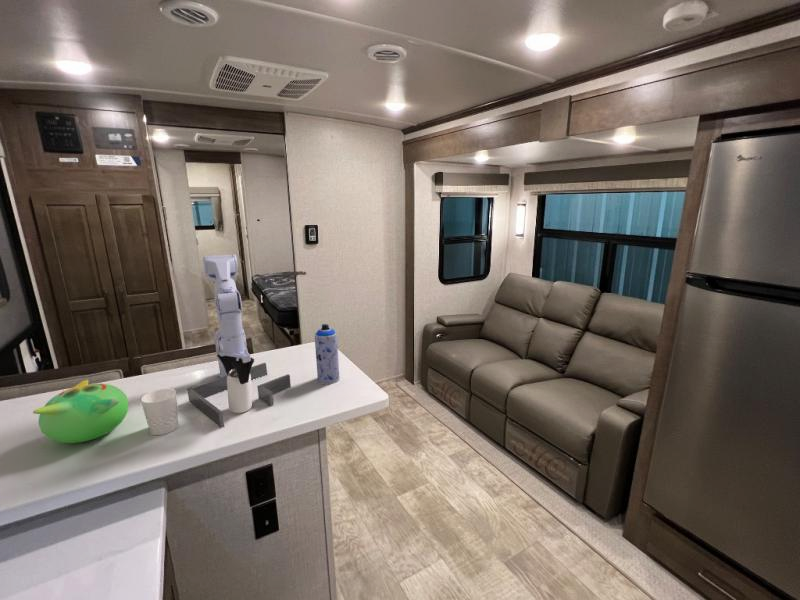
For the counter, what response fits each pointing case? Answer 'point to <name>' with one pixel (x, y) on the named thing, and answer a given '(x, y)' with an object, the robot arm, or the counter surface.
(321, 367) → the aerosol can
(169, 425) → the white cup
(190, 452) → the counter surface
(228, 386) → the can
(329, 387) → the counter surface
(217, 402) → the counter surface
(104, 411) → the toy bird
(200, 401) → the rail channel
